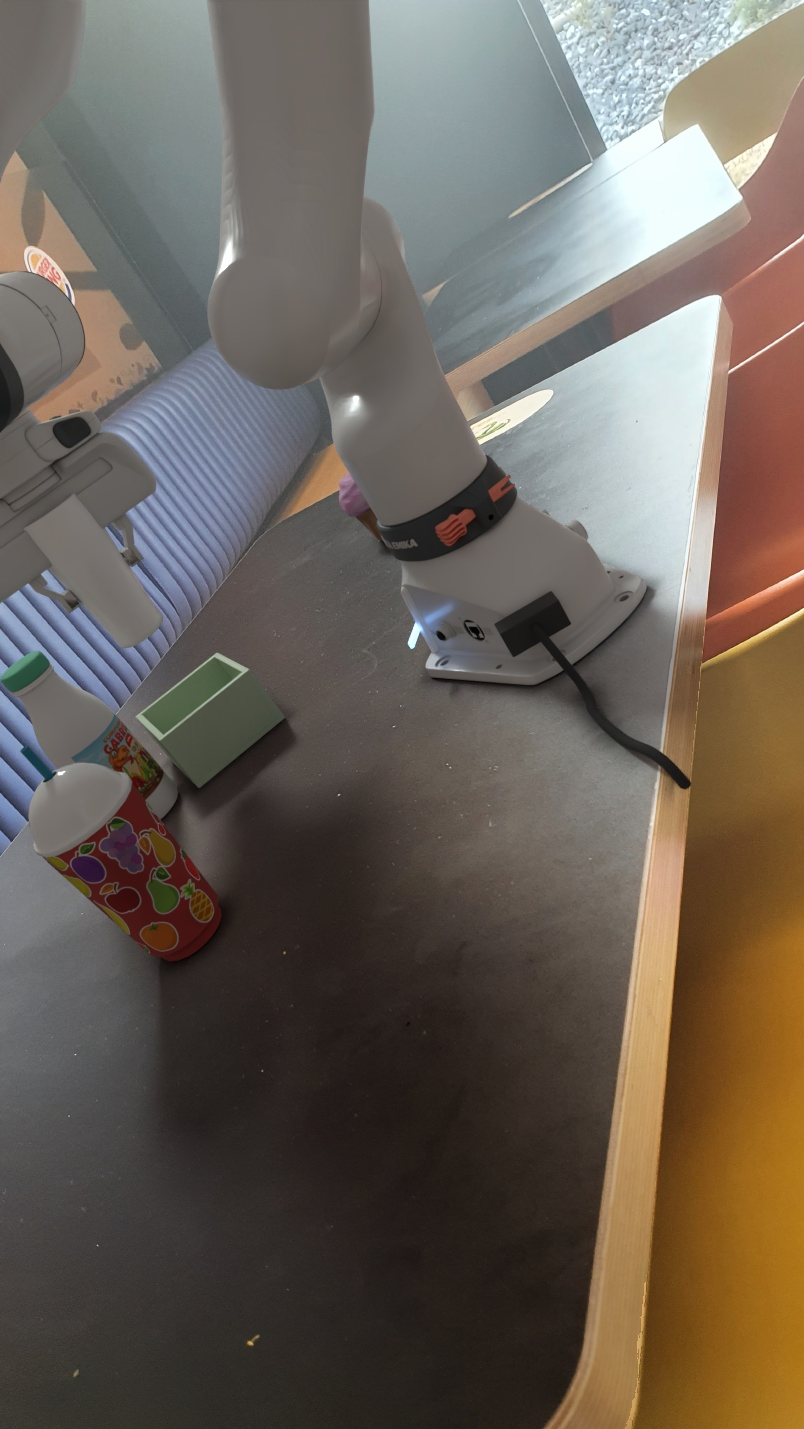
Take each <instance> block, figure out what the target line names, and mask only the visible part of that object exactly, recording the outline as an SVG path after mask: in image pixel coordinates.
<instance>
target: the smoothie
mask: <svg viewBox="0 0 804 1429" xmlns="http://www.w3.org/2000/svg"><path fill="white" fill-rule="evenodd" d="M19 752H20V753H21V754H22V755H23V756H24V758H25V759H26V760H27V761H28V762H29V763H30V764H31V765H32V767H33V768H35V770H36V771H37V772H38V773H39V774H40V775H41V776H42V777H43V779H42V780H41V781H40V782H39V784H38V785H37V787H36V789H35V790H34V792H33V794H32V796H31V799H30V803H29V806H28V815H27V819H28V827H29V829H30V832H31V835H32V838H33V845H32V847H33V849H34V852H35V854H37V855H38V856H39V857H41V858H43V859H44V860H45V861H46V863H48V865H50V866H51V867H52V868H53V869H54V870H55V871H57V873H59V874H60V875H61V876H62V877H63V878H64V879H66V881H67V882H69V883H70V884H71V885H72V886H73V887H74V888H75V889H77V890H78V891H79V892H80V893H81V894H82V895H83V896H84V897H85V898H86V899H88V901H90V902H91V903H92V904H93V905H94V906H95V907H96V908H97V909H98V910H100V911H101V912H102V914H104V915H105V916H106V917H107V918H109V919H110V921H112V922H113V923H114V924H115V925H116V926H118V927H119V929H121V930H122V931H123V932H124V933H125V934H127V936H128V937H129V938H131V939H132V940H133V941H134V942H135V943H137V944H138V946H140V947H141V948H142V949H143V950H144V951H145V952H146V953H147V954H149V955H150V956H152V957H155V958H162V959H163V960H165V961H168V962H177V961H181V960H184V959H185V958H188V957H190V956H191V955H193V954H194V953H196V952H197V951H199V950H200V949H201V948H203V946H204V945H206V944H207V943H208V942H209V941H210V939H211V938H212V937H213V935H214V934H215V932H216V930H217V929H218V927H219V926H220V923H221V919H222V908H220V906H219V896H218V894H217V892H216V891H215V889H214V888H213V887H212V886H211V885H210V883H209V882H208V880H207V879H206V877H205V876H204V875H203V874H202V873H201V871H200V870H199V869H198V868H197V866H196V865H195V864H194V862H193V861H192V859H191V858H190V857H189V856H188V853H186V851H185V850H184V849H183V848H182V846H181V845H180V843H179V842H178V841H177V839H176V838H175V837H174V835H173V834H172V833H171V832H170V831H169V829H168V828H167V826H166V825H165V824H164V822H163V821H162V819H161V820H160V819H159V817H158V816H157V815H156V813H155V812H154V811H153V809H152V808H151V807H150V805H149V804H148V803H147V801H146V800H145V799H144V797H143V796H142V795H141V793H140V792H139V791H138V789H137V788H136V787H135V786H134V785H133V784H132V781H131V779H130V778H129V776H128V775H127V774H126V773H123V772H116V771H115V770H113V769H110V768H108V767H106V766H103V765H99V764H94V763H83V762H81V763H73V764H70V765H66V766H63V767H61V768H59V769H57V768H55V769H54V770H53V771H52V770H51V769H50V768H49V767H48V766H47V765H46V764H45V763H44V762H43V761H42V759H40V758H39V756H38V755H37V754H36V753H35V752H34V751H33V750H32V749H31V748H30V747H29V746H28V745H25V746H24V747H22V748H21V749H20V750H19Z"/></svg>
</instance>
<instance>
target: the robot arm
mask: <svg viewBox="0 0 804 1429" xmlns="http://www.w3.org/2000/svg"><path fill="white" fill-rule="evenodd" d="M206 6H207V7H206V8H207V15H208V22H209V28H210V36H211V37H210V38H211V44H212V51H213V59H214V66H215V67H214V68H215V75H216V83H217V90H218V98H219V106H220V117H221V118H220V120H221V133H222V134H221V135H222V136H221V137H222V138H221V139H222V153H221V154H222V156H221V157H222V159H221V192H220V222H219V246H218V247H219V248H218V259H217V265H216V269H215V274H214V278H213V282H212V285H211V287H210V292H209V294H208V298H207V299H208V300H207V308H206V309H207V322H208V324H207V325H208V329H209V333H210V336H211V338H212V342H213V344H214V345H215V347H216V349H217V351H218V353H219V355H220V356H221V358H222V359H223V360H224V362H225V363H226V364H227V365H228V366H229V368H230V369H232V371H234V372H235V374H237V375H239V377H241V378H243V379H244V380H245V381H247V382H249V383H251V384H253V385H255V386H258V387H261V388H264V389H269V390H275V391H276V390H281V391H282V390H290V389H294V388H297V387H300V386H303V385H306V384H308V383H311V382H313V381H315V380H317V379H319V382H320V385H321V387H322V391H323V393H324V396H325V400H326V403H327V407H328V412H329V416H330V417H329V418H330V424H331V436H332V437H331V439H332V443H333V445H334V448H335V452H336V453H337V456H338V457H339V458H340V461H341V462H342V463H343V466H344V467H345V468H346V470H347V473H350V475H351V477H352V478H353V480H354V481H355V483H356V485H357V486H358V488H359V490H360V491H361V493H362V495H363V496H364V498H365V499H366V501H367V503H368V504H369V506H370V508H371V509H372V511H373V513H374V514H375V516H376V517H377V519H378V520H377V528H378V530H379V531H380V533H381V536H382V539H383V541H382V542H383V543H384V544H385V546H386V547H387V548H388V549H389V551H390V552H391V554H392V555H393V557H394V558H395V559H396V560H398V561H400V566H401V585H400V596H401V598H402V600H403V601H404V603H405V605H406V607H407V609H408V611H409V613H410V615H411V617H412V618H413V621H414V622H415V623H414V626H413V629H412V631H411V634H410V636H409V639H408V642H407V645H408V646H409V647H410V649H411V650H412V649H414V648H415V646H416V643H417V640H418V637H419V634H421V636H422V637H423V640H424V641H425V643H426V645H427V646H428V648H429V651H430V654H429V656H428V658H427V660H426V662H425V665H424V666H425V669H426V672H427V674H428V676H429V677H430V678H434V679H435V678H438V679H449V680H461V681H471V682H472V681H473V682H483V683H484V682H485V683H496V684H497V683H498V684H508V685H520V686H521V685H523V686H535V685H538V684H540V683H542V682H544V681H547V680H549V679H551V678H552V677H554V676H556V675H558V674H560V673H562V672H565V674H566V675H567V676H568V678H569V679H570V680H571V681H572V682H573V684H574V685H575V686H576V688H577V689H578V691H579V693H580V694H581V696H582V698H583V701H584V703H585V707H586V710H587V712H588V714H589V716H590V717H591V718H592V720H593V721H594V722H595V723H596V724H597V726H599V728H601V730H603V731H604V732H605V733H606V734H607V735H609V736H610V737H611V738H613V739H614V740H615V741H616V742H617V743H619V744H620V745H622V746H623V747H624V748H627V749H629V750H631V751H633V752H636V753H638V754H641V755H643V756H645V757H647V758H649V759H650V760H651V761H653V762H654V763H656V764H657V765H658V766H659V767H660V768H662V770H664V771H665V773H667V774H668V776H669V777H671V779H672V780H673V781H674V782H675V784H676V785H677V786H678V787H679V788H680V789H682V790H687V789H689V788H690V787H691V786H692V782H691V781H690V779H689V778H688V777H687V775H686V774H685V773H684V772H683V770H681V768H679V767H678V765H677V764H676V763H674V761H672V760H671V758H669V757H668V756H667V755H665V754H664V752H662V751H661V750H659V749H657V747H654V746H652V745H650V744H647V743H645V742H642V741H640V740H638V739H636V738H634V737H631V736H629V735H628V734H627V733H625V732H624V731H622V730H621V729H620V728H619V727H617V726H616V725H614V724H613V723H611V721H609V720H608V719H607V718H606V717H605V716H604V715H603V714H602V712H601V711H600V709H599V707H598V705H597V703H596V699H595V697H594V694H593V692H592V690H591V688H590V687H589V685H588V684H587V682H586V681H585V679H583V677H582V676H581V675H580V673H579V672H578V670H577V669H576V668H575V667H574V666H573V665H574V664H575V663H577V662H578V661H580V660H581V659H582V658H583V657H585V656H586V655H587V654H589V653H590V652H591V651H593V650H594V649H595V648H596V647H598V645H600V644H601V643H602V642H603V641H605V640H606V639H607V638H608V637H610V635H611V634H612V633H613V632H614V631H615V630H616V629H618V628H619V627H620V626H621V625H622V624H623V623H624V622H625V621H626V620H627V619H628V617H630V615H631V614H632V613H633V612H634V611H635V610H636V609H637V607H638V606H639V604H640V603H641V601H642V599H643V597H644V596H645V594H646V591H647V588H648V585H647V584H646V582H645V580H644V579H643V578H642V577H641V576H640V575H636V574H634V573H631V572H629V571H626V570H624V569H621V568H618V567H616V566H613V565H610V564H607V563H605V562H602V560H601V559H600V557H599V555H598V554H597V552H596V551H595V549H594V548H593V546H592V545H591V544H590V543H589V542H588V540H589V534H588V531H587V529H586V527H585V526H584V525H583V523H581V522H580V521H579V520H577V519H571V520H570V521H569V522H567V523H566V524H563V523H561V522H560V521H558V520H557V519H555V518H553V517H552V516H551V515H550V513H549V512H548V511H547V510H546V508H538V507H535V505H533V504H531V503H529V502H528V501H527V500H525V499H524V498H522V497H520V496H519V495H518V489H517V487H516V484H515V483H512V481H511V480H510V479H511V477H512V475H510V474H507V473H506V472H505V471H504V469H503V468H502V467H501V466H499V465H498V463H497V462H496V461H495V460H494V459H493V458H492V457H491V456H490V455H487V454H485V452H484V451H483V450H484V449H483V448H482V447H481V445H480V442H479V441H478V439H477V437H476V434H475V433H474V431H473V430H472V428H471V425H470V424H469V421H468V420H467V418H466V416H465V414H464V412H463V410H462V409H461V406H460V405H459V404H460V403H459V402H458V401H457V399H456V397H455V395H454V393H453V391H452V389H451V387H450V384H449V382H448V380H447V378H446V376H445V373H444V370H443V368H442V366H441V363H440V360H439V357H438V355H437V352H436V349H435V346H434V343H433V340H432V337H431V334H430V330H429V327H428V324H427V320H426V318H425V315H424V312H423V309H422V306H421V303H420V301H419V300H420V299H419V297H418V295H417V292H416V289H415V286H414V284H413V281H412V278H411V275H410V272H409V269H408V264H407V257H406V247H405V241H404V238H403V234H402V232H401V229H400V227H399V225H398V223H397V221H396V220H395V218H394V217H393V215H391V213H390V212H389V211H388V210H387V209H386V208H385V207H384V206H383V205H382V204H380V202H377V201H376V200H375V199H372V198H370V197H368V196H365V185H366V184H365V183H366V174H367V173H366V171H367V170H366V169H367V162H368V154H369V144H370V139H371V133H372V130H373V126H374V121H375V113H376V112H375V111H376V110H375V109H376V106H375V89H374V88H375V87H374V86H375V85H374V75H373V74H374V69H373V53H372V52H373V51H372V33H371V15H370V0H206ZM86 10H87V0H0V183H1V182H2V178H3V176H4V173H5V170H6V169H7V166H8V164H9V162H10V160H11V158H12V157H13V155H14V154H15V152H16V150H17V149H18V148H19V146H20V145H21V144H22V142H23V141H24V140H25V139H26V137H27V136H28V135H29V134H30V132H31V131H32V130H33V129H34V128H35V127H36V126H37V125H38V123H39V122H40V121H42V119H43V118H44V117H45V116H46V115H47V114H48V113H50V112H51V111H52V110H53V109H54V108H55V107H56V106H57V105H58V104H60V102H61V101H62V100H63V99H64V98H65V96H66V95H67V94H68V93H69V91H70V90H71V88H72V87H73V85H74V84H75V82H76V79H77V76H78V70H79V66H80V61H81V56H82V50H83V44H84V37H85V29H86V15H87V14H86V13H87V11H86ZM85 352H86V335H85V329H84V325H83V321H82V319H81V316H80V314H79V312H78V310H77V308H76V307H75V305H74V304H73V301H72V300H71V299H70V298H69V297H68V295H67V294H66V293H65V292H64V291H63V289H62V288H60V287H59V286H58V285H57V284H56V283H55V282H53V281H51V280H50V279H48V278H46V277H45V276H43V275H41V274H38V273H35V272H32V271H27V270H18V271H13V272H11V271H10V272H5V273H1V274H0V604H2V603H3V602H4V601H6V600H7V599H9V598H10V597H12V596H13V595H14V594H16V593H18V592H19V591H20V590H21V589H23V588H24V587H26V586H27V585H29V587H30V588H31V589H32V590H33V591H34V592H35V593H36V594H40V595H41V596H43V597H47V598H49V599H52V600H55V601H57V602H58V604H59V606H61V607H62V609H63V610H65V612H66V613H67V614H68V615H70V614H72V613H73V612H75V611H76V609H78V608H80V606H82V604H81V603H80V602H79V601H78V600H77V599H76V598H75V597H74V595H73V594H72V593H71V591H69V590H67V589H65V590H63V591H62V592H61V593H60V592H57V591H55V590H53V589H50V588H47V587H46V586H47V585H48V584H49V582H48V581H47V579H45V577H44V576H43V575H42V574H43V573H44V572H46V571H47V570H48V569H49V568H50V567H51V566H52V564H51V562H50V561H49V559H48V558H47V557H46V555H45V554H44V553H43V552H42V551H41V549H40V548H39V547H38V546H37V544H36V543H35V542H34V540H33V539H32V538H31V536H30V535H29V533H28V532H27V531H24V528H25V527H27V526H28V525H30V524H32V523H34V522H35V521H37V520H38V519H40V518H41V517H43V516H44V515H46V514H47V513H49V512H50V511H52V510H53V509H54V508H56V507H57V506H59V505H60V504H61V503H62V502H64V501H65V500H66V499H67V498H69V497H70V496H71V495H72V494H73V493H75V494H76V497H77V498H78V500H79V501H80V502H81V503H82V504H83V505H84V507H85V508H86V509H87V510H88V512H89V513H90V514H91V515H92V517H93V518H94V519H95V521H96V522H97V524H98V525H99V526H100V527H101V528H102V529H104V528H105V529H106V528H107V527H109V526H110V525H112V527H113V528H114V529H115V530H118V531H121V534H122V541H123V546H124V547H122V548H121V549H119V551H120V552H121V554H122V555H123V557H124V558H125V560H126V562H127V563H128V565H129V566H130V568H133V567H135V566H136V565H137V564H139V563H140V562H141V561H143V560H144V556H143V554H142V553H141V552H140V550H139V549H138V548H137V546H136V545H135V536H134V528H133V527H134V526H133V523H132V521H131V520H130V518H129V517H128V516H127V513H128V512H129V511H131V510H132V509H133V508H135V507H136V506H137V505H139V504H140V503H141V502H143V501H145V500H146V499H147V498H148V497H149V496H151V495H153V494H154V493H155V492H156V491H157V477H156V475H155V474H154V473H153V471H152V470H151V469H150V467H149V466H148V465H147V463H146V462H145V461H144V460H143V459H142V457H141V456H140V455H139V454H138V453H137V452H136V451H135V450H134V449H133V447H131V446H130V445H129V444H128V443H127V442H126V441H125V440H124V439H123V438H122V437H120V436H119V435H118V434H115V433H113V432H109V431H103V432H100V431H101V429H102V423H101V421H100V419H99V417H97V415H96V414H95V413H94V412H93V411H91V410H80V411H76V412H73V413H70V414H66V415H63V416H62V415H55V416H52V417H49V419H48V420H45V421H41V420H40V419H38V417H37V416H36V415H35V414H34V413H33V411H32V410H31V408H30V407H31V406H33V405H34V404H36V403H37V402H38V401H41V400H42V399H43V398H44V397H46V396H47V395H48V394H49V393H50V392H52V391H54V390H55V389H56V388H57V387H59V386H60V385H61V384H63V383H65V381H66V380H68V379H69V378H71V376H72V374H73V373H74V372H75V370H76V369H77V368H78V367H79V365H80V364H81V362H82V360H83V358H84V355H85Z"/></svg>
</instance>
